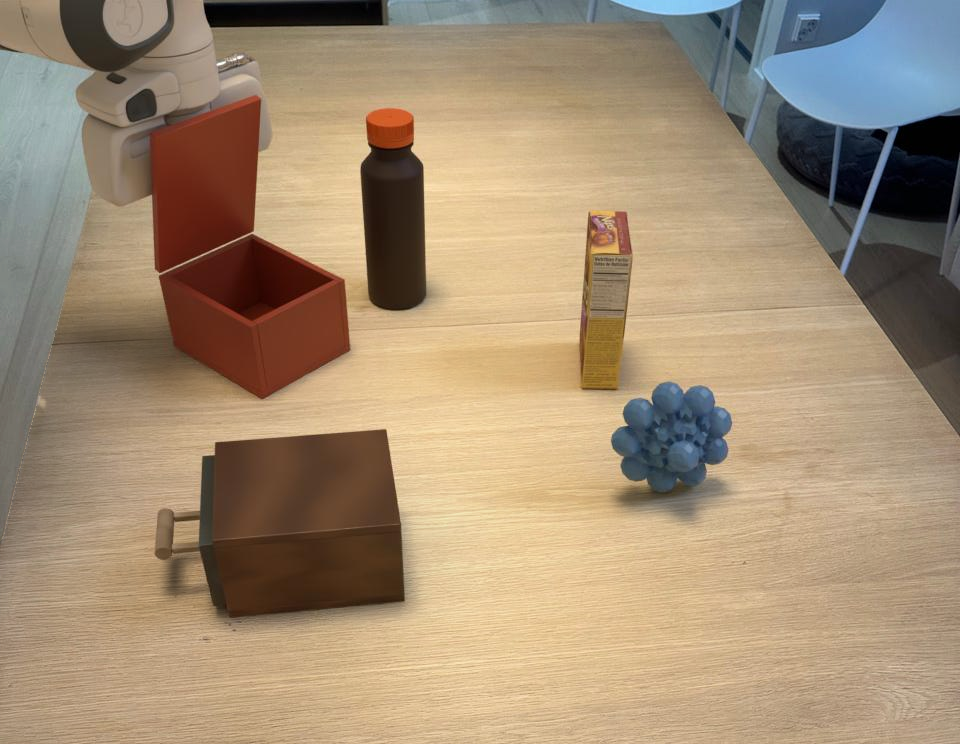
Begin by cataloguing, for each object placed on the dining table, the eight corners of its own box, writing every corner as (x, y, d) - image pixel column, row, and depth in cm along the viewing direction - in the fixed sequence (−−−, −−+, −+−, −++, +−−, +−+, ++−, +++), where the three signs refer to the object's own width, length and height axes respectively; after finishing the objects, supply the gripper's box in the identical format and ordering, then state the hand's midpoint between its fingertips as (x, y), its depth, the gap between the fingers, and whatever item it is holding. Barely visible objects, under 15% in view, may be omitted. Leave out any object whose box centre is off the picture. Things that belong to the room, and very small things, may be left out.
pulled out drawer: (161, 611, 87) (143, 550, 82) (167, 520, 94) (151, 459, 89) (376, 591, 89) (371, 530, 84) (365, 504, 96) (360, 443, 91)
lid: (261, 98, 102) (256, 94, 102) (155, 137, 96) (149, 132, 96) (254, 231, 115) (249, 227, 115) (159, 273, 109) (154, 269, 109)
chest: (350, 349, 115) (344, 279, 109) (262, 399, 109) (250, 327, 103) (262, 302, 122) (252, 233, 116) (173, 346, 115) (158, 275, 109)
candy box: (575, 343, 117) (588, 208, 106) (614, 344, 117) (631, 209, 106) (577, 389, 111) (590, 251, 100) (618, 391, 111) (636, 253, 100)
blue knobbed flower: (618, 528, 96) (635, 419, 87) (595, 482, 100) (609, 373, 92) (737, 510, 98) (765, 401, 89) (710, 466, 102) (734, 358, 94)
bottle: (372, 313, 120) (361, 132, 106) (364, 283, 125) (352, 106, 110) (431, 307, 121) (428, 128, 107) (421, 278, 126) (416, 102, 111)
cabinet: (229, 617, 88) (212, 540, 81) (230, 518, 96) (214, 441, 90) (405, 601, 89) (401, 524, 83) (390, 505, 98) (386, 428, 91)
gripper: (234, 38, 106) (254, 176, 116) (58, 95, 96) (96, 241, 106) (276, 54, 103) (292, 193, 114) (100, 114, 93) (135, 262, 103)
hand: (196, 217), depth 110 cm, fingers closed
